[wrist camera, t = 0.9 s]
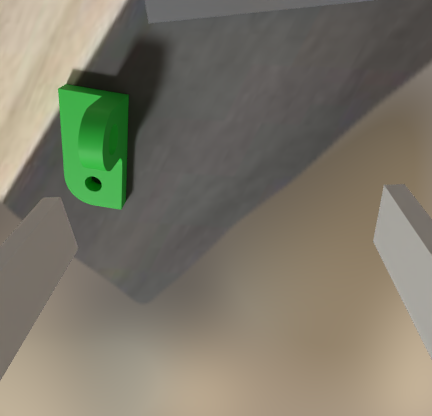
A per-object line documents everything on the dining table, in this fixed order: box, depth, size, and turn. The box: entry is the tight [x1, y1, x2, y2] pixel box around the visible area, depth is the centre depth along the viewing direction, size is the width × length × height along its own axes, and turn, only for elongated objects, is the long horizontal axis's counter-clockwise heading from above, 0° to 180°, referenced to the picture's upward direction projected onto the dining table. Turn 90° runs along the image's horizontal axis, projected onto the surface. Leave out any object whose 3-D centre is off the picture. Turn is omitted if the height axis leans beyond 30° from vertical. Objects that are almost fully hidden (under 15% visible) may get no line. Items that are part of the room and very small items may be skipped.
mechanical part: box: [58, 84, 129, 209], centre depth 35 cm, size 12×6×8 cm, turn 171°
